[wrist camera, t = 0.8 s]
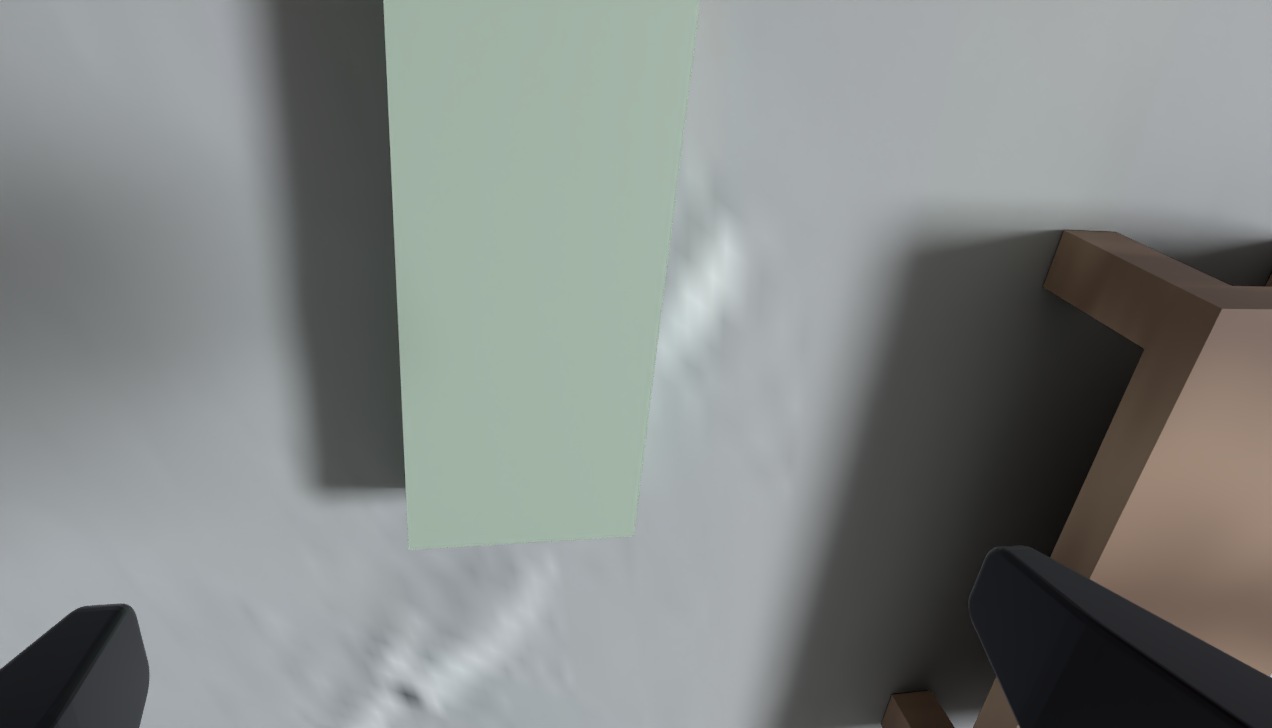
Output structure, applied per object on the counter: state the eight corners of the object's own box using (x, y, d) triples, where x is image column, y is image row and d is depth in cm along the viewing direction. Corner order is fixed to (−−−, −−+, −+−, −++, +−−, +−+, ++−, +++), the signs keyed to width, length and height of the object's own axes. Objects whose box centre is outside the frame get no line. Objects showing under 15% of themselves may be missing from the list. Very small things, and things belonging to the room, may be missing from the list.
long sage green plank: (613, 469, 21) (633, 536, 18) (413, 478, 19) (408, 549, 17) (667, -52, 15) (705, -47, 13) (390, -82, 14) (379, -83, 12)
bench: (1074, 700, 30) (1171, 820, 26) (881, 724, 28) (953, 856, 24) (1318, 239, 21) (1517, 312, 17) (1064, 230, 19) (1222, 308, 15)
